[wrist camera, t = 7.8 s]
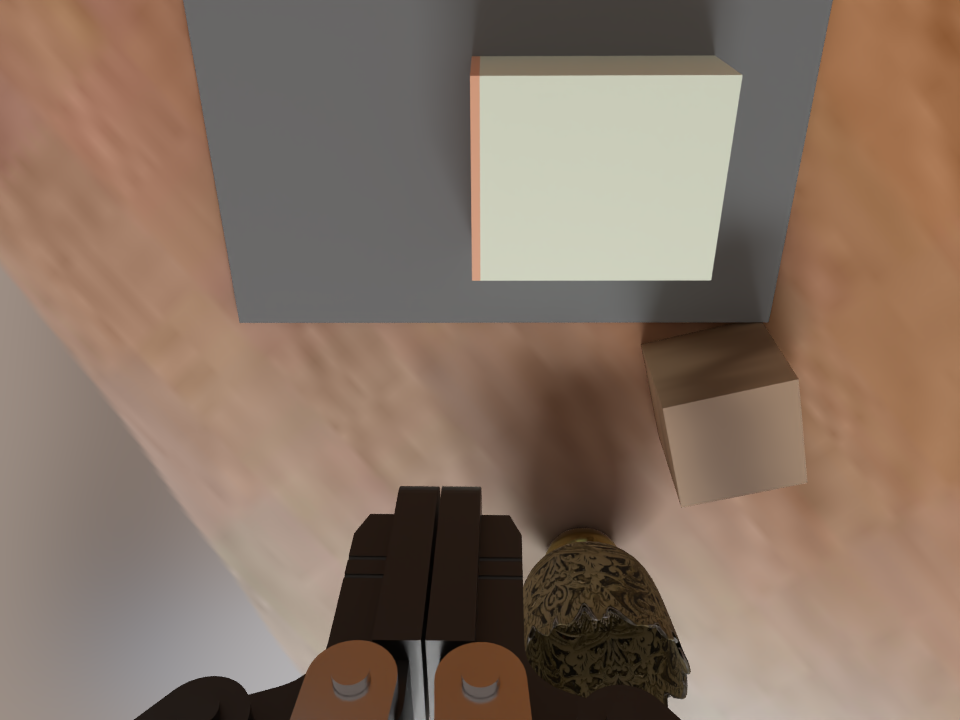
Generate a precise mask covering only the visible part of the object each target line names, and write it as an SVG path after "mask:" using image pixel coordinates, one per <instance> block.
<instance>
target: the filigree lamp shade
mask: <svg viewBox="0 0 960 720" xmlns="http://www.w3.org/2000/svg"><path fill="white" fill-rule="evenodd" d="M523 606H524V641H525V653H526V656H527V659H528V661H529V663H530V665H531V667H532V668H533V669H534V671H535V672H536V673H537V674H538V675H539V676H540V677H541V678H542V679H543V680H544V681H546V682H547V683H549V684H550V685H552V686H554V687H556V688H558V689H561V690H563V691H566V692H569V693H572V694H575V695H578V696H582V697H585V698H587V697H588V696H589V695H590V694H591V693H592V692H594V691H596V690H598V689H600V688H603V687H605V686H611V685H628V686H633V687H637V688H640V689H642V690H645V691H647V692H648V693H650V694H652V695H654V696H655V697H656V698H657V699H659V700H660V701H661V702H662V703H663V704H664V705H665V706H666V707H668V701H667V698H668V697H671V696H672V697H673V698H677V699H684V698H686V695H687V674H690V672H691V671H690V666H689V663H688V660H687V658H686V656H685V654H684V652H683V649H682V647H681V644H680V641H679V639H678V636H677V634H676V631H675V629H674V626H673V624H672V622H671V619H670V617H669V614H668V612H667V609H666V607H665V605H664V602H663V600H662V598H661V596H660V593H659V591H658V589H657V587H656V586H655V584H654V582H653V580H652V578H651V577H650V575H649V574H648V572H647V571H646V569H645V568H644V567H643V566H642V565H641V564H640V563H639V562H638V561H637V560H636V559H635V558H634V557H633V556H631V555H630V554H628V553H627V552H625V551H624V550H622V549H620V548H618V547H617V546H616V545H615V544H614V542H613V541H612V540H611V539H610V538H609V537H608V536H607V535H605V534H604V533H602V532H600V531H598V530H596V529H592V528H574V529H570V530H567V531H565V532H563V533H561V534H560V535H558V536H557V537H556V538H555V539H554V540H553V541H552V543H551V544H550V546H549V548H548V550H547V552H546V555H545V556H544V557H543V558H542V559H541V560H540V561H539V562H538V563H537V564H536V565H535V566H534V568H533V569H532V570H531V572H530V574H529V575H528V577H527V579H526V581H525V583H524V586H523ZM670 695H671V696H670Z"/></svg>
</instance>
